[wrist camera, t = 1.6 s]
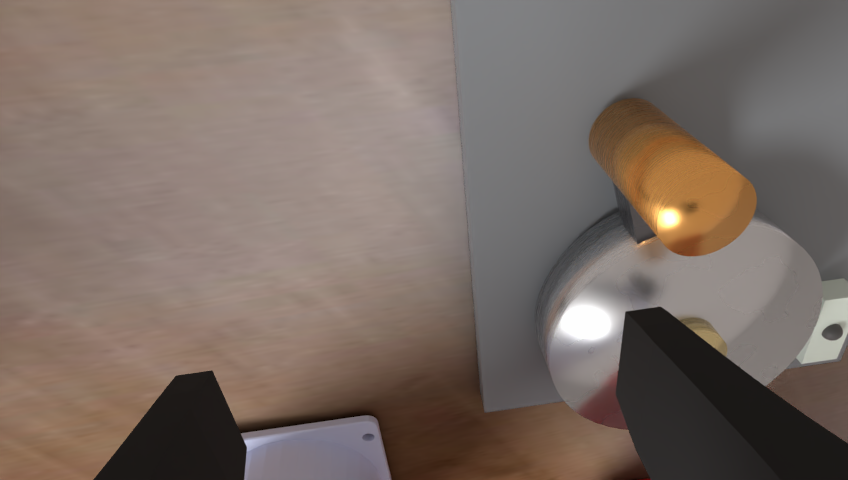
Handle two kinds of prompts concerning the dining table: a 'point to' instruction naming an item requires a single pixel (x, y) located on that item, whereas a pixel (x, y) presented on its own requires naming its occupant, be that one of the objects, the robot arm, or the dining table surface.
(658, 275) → the crank wheel
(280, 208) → the dining table surface
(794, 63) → the stand
